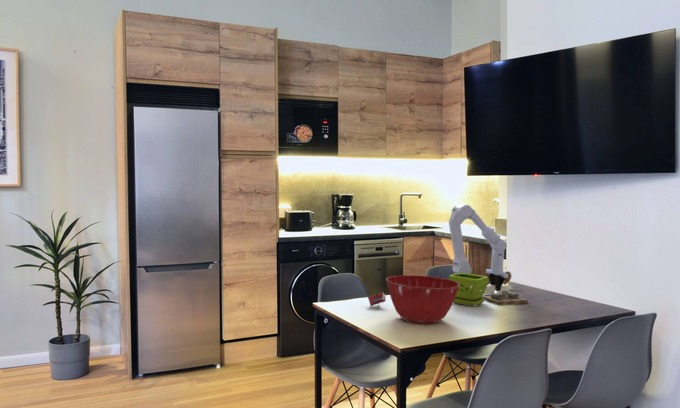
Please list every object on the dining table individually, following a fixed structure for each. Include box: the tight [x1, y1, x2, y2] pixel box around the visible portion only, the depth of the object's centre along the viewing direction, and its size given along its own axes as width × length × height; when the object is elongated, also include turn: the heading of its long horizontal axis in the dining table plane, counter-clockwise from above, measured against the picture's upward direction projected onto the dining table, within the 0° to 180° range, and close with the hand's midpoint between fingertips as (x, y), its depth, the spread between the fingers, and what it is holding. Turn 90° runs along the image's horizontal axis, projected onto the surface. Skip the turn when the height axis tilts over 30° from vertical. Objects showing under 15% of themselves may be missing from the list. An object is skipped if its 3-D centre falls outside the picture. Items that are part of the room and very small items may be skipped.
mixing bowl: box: [385, 274, 460, 325], centre depth 216 cm, size 28×28×15 cm
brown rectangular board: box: [482, 290, 529, 306], centre depth 258 cm, size 17×12×5 cm
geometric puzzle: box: [367, 291, 387, 308], centre depth 236 cm, size 7×7×8 cm
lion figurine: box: [487, 271, 512, 285], centre depth 291 cm, size 15×5×9 cm, turn 104°
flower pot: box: [448, 273, 488, 307], centre depth 250 cm, size 14×14×13 cm
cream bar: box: [484, 283, 510, 296], centre depth 273 cm, size 14×3×4 cm, turn 113°
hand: (495, 289), depth 273 cm, fingers closed on cream bar, 3 cm apart
